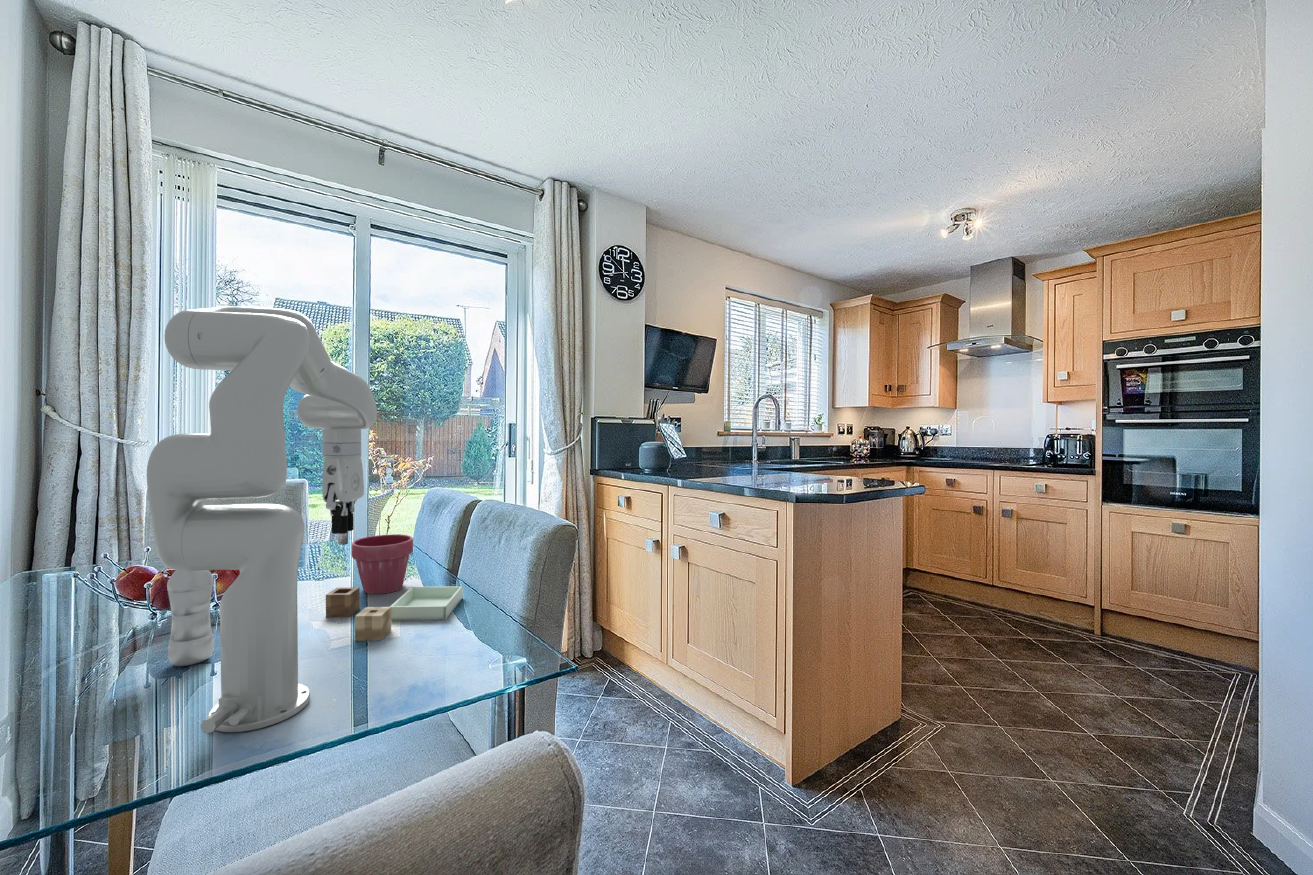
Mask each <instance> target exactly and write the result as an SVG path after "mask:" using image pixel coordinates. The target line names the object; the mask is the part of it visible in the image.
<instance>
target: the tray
mask: <svg viewBox="0 0 1313 875" xmlns="http://www.w3.org/2000/svg"><path fill="white" fill-rule="evenodd" d="M463 591H464V590H463V586H452V585H451V586H449V585H448V586H411V587H410V588H409V589H407V591H405V592H404V594H402V595H401V596H400V597H399V598H398V599H396V600H395V601H394V602H393V603H392V604H391V605H390V606H389V607H391V621H446V620H447V619H446V618H448V617H449V616H450V615H451V614H452V613H453V611H454V610H455V609H456V607H457V606H458V605H459V604H460V603H461V601H462V600H461V598H462V597H463V594H464V593H463ZM462 599H463V598H462ZM460 600H461V601H460ZM458 603H459V604H458ZM457 604H458V605H457ZM456 605H457V606H456ZM454 608H455V609H454ZM450 613H451V614H450ZM445 619H446V620H445Z"/></svg>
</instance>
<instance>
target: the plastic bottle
mask: <svg viewBox="0 0 1313 875" xmlns="http://www.w3.org/2000/svg"><path fill="white" fill-rule="evenodd" d="M213 586H214V576H213V574H212V572H211V570H199V571H178V570H174V572H173V573H172V575H170V577H169V579H168V580H167V583H166V590H167V596H168V600H169V604H170V614H171V626H170V627H171V628H170V640H169V642H168V646H167V647H168V648H167V653H166V654H167V659H168V661H169V662H170V664H171V665H173V666H175V667H186V666H191V665H196V664H199V663H201V662H204V661H206V660H207V659H209V658H210V657H211V655H212V654H213V653H214V649H215V640H214V634H213V631H212V624H211V616H210V615H211V614H210V613H211V609H210V608H211V598H212V592H213V591H212V590H213Z"/></svg>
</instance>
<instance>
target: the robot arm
mask: <svg viewBox="0 0 1313 875" xmlns="http://www.w3.org/2000/svg"><path fill="white" fill-rule="evenodd" d="M163 336H164V344H165V346H166V349H167V351H168V354H170V357H172V359H173V360H174V361H176V363H178V364H180V365H182V366H183V367H185V368H189V369H193V370H204V371H205V370H206V371H209V370H210V371H211V370H213V371H230V372H229V373H228V374H227V375H226V376H225V377H223V379H222V380H221V381H220V382H219V383H218V384H217V386H216V387H215V388H214V390H213V392H212V394H211V395H210V398H209V402H208V403H209V404H208V407H209V409H208V410H209V420H210V421H209V422H210V433H209V432H208V433H204V432H203V433H202V432H200V433H199V432H197V433H194V432H192V433H190V432H189V433H186V432H185V433H177V434H172V435H169V436H166V437H164V438H163V439H161V440H160V441H159V442H157V444H156V445H155V446H153V449H152V450H151V452H150V456H149V458H148V461H147V465H146V485H147V486H146V488H147V494H148V502H149V507H150V509H149V510H150V515H151V521H152V522H151V523H152V529H153V537H154V541H155V542H154V543H155V548H156V553H157V555H158V558H159V560H160V561H161V563H162V564H163V565H164V566H165V567H167V568H168V569H170V570H172V571H173V570H174V571H176V570H178V571H199V570H209V571H215V570H218V571H219V570H221V571H222V570H229V571H231V570H232V571H233V570H234V571H239V574H238V577H236V579H235V580H234V581H233V582H232V583H231V585H230V586H229V587H228V588H227V589H226V590H225V591H224V593H223V594H222V596H221V599H220V603H219V624H220V625H219V627H220V628H219V632H220V633H219V634H220V636H219V637H220V684H221V685H220V692H221V693H220V695H221V696H219V697H218V703H216V704H215V705H214V706H213V707H212V708H211V709H210V710H209V712H208V714H207V718H205V719H204V720H202V722H201V723H200V730H201V731H202V732H204V733H207V734H210V733H212V732H214V731H217V732H222V733H241V732H250V731H255V730H260V729H262V728H266V727H270V726H272V725H275V724H278V723H280V722H283V721H285V720H287V719H289V718H290V717H293V716H295V715H296V714H297V713H299V712H301V711H302V710H303V709H305V707H306V706H307V705H308V704H309V702H310V698H311V692H310V688H309V687H307V686H306V685H303V684H302V683H299V652H298V651H299V647H298V646H299V641H298V640H299V637H298V636H299V635H298V634H299V633H298V627H299V626H298V578H299V577H298V574H299V564H300V558H301V551H302V546H303V540H304V537H305V535H304V534H305V523H304V519H303V516H302V515H301V514H300V512H298V511H297V510H296V509H294V508H292V507H291V506H287V505H284V504H278V503H236V504H235V503H234V504H208V505H206V504H205V500H235V499H236V500H237V499H242V500H243V499H260V498H266V497H270V496H274V495H276V494H277V493H280V492H281V490H282V489H283V488H284V487H285V485H286V482H287V478H288V477H287V476H288V474H287V473H288V461H287V446H286V445H287V444H286V434H285V433H286V432H285V421H284V420H285V419H284V403H285V397H286V395H287V393H288V392H287V391H288V389H289V388H290V389H291V390H293V391H295V392H298V393H301V394H304V396H302V397H301V399H300V400H299V401H298V404H297V406H296V415H297V419H298V420H299V422H300V423H301V424H302V425H303V426H305V427H307V428H309V429H313V430H322V458H324V460H323V461H324V462H323V469H322V482H321V483H322V484H321V486H322V487H321V488H322V492H321V493H322V500H323V502H325V508H326V509H327V510H329V511H330V514H329V515H330V517H331V534H332V535H334V534H337V535H338V534H346V533H347V532H352V531H354V528H355V526H354V521H355V520H354V517H355V516H354V512H355V504H356V502H357V501H358V500H359V499H361V498H362V497H364V495H365V485H364V484H365V483H364V482H365V481H364V470H363V468H364V466H363V463H362V462H363V461H362V430H365V429H370V428H371V427H372V426H373V425H374V424H375V422H376V419H377V417H378V408H377V404H376V401H375V398H374V395H373V393H372V390H371V388H370V386H369V384H368V383H367V381H365V379H363V378H362V377H361V376H360V375H357V373H354V372H353V371H351V370H349V369H347V368H345V367H344V366H342V365H340V364H338V363H336V362H334V361H332V360H331V359H330V358H331V357H330V356H329V354H328V352H327V350H326V348H325V345H324V344H323V342H322V340H321V337H320V335H319V333H318V332H317V330H316V328H315V325H314V324H313V322H312V321H311V320H310V319H309V317H307V316H306V315H304V314H303V313H301V312H298V311H296V310H291V309H287V308H271V307H258V306H257V307H256V306H255V307H254V306H252V307H251V306H235V305H234V306H232V305H231V306H229V305H228V306H217V307H206V308H195V309H184V310H182V311H179V312H177V313H176V314H174V315H173V316H172V317H171V318H170V319H169V320H168V322H167V324H166V327H165V329H164V335H163ZM346 508H348V515H346Z"/></svg>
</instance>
